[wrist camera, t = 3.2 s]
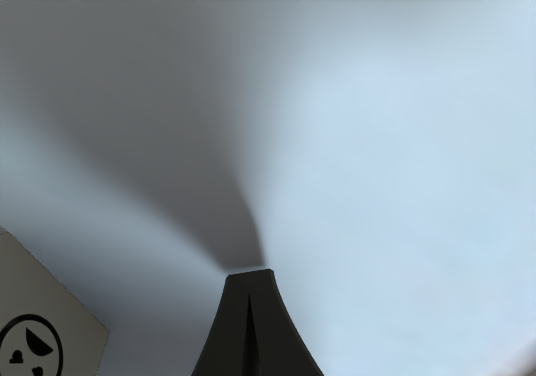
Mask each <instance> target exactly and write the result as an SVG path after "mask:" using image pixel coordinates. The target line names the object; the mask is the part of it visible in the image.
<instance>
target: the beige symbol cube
mask: <svg viewBox="0 0 536 376" xmlns="http://www.w3.org/2000/svg"><path fill="white" fill-rule="evenodd" d="M108 335H109V331H108V330H107V329H106V328H105V327H104V326H103V325H102V324H101V323H100V322H99V321H98V320H97V319H96V318H95V317H94V316H93V315H92V314H91V313H90V312H89V311H88V310H87V309H86V308H85V307H84V306H83V305H82V304H81V303H80V302H79V301H78V300H77V299H76V298H75V297H74V296H73V295H72V294H71V293H70V292H69V291H68V290H67V289H66V288H65V287H64V286H63V285H62V284H61V283H60V282H59V281H58V280H57V279H56V278H55V277H54V276H53V275H52V274H51V273H50V272H49V271H48V270H47V269H46V268H45V267H44V266H43V265H42V264H41V263H40V262H39V261H38V260H37V259H36V258H35V257H34V256H33V255H32V254H31V253H30V252H29V251H28V250H27V249H26V248H25V247H24V246H22V245H21V244H20V243H19V242H18V241H17V240H16V239H15V238H14V237H13V236H12V235H11V234H10V233H9V232H6V233H3V234H0V376H96V374H97V371H98V368H99V364H100V361H101V358H102V355H103V351H104V348H105V345H106V341H107V338H108Z"/></svg>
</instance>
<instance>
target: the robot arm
mask: <svg viewBox="0 0 536 376" xmlns="http://www.w3.org/2000/svg"><path fill="white" fill-rule="evenodd" d="M191 376H324V374H323V373H322V371H321V370H320V368H319V367H318V365H317V364H316V362H315V361H314V359H313V357H312V356H311V354H310V352H309V351H308V349H307V347H306V346H305V344H304V342H303V340H302V339H301V337H300V335H299V333H298V331H297V329H296V328H295V326H294V324H293V322H292V320H291V318H290V316H289V314H288V312H287V309H286V307H285V305H284V303H283V300H282V298H281V295H280V293H279V290H278V287H277V284H276V280H275V276H274V271H273V270H271V269H264V270H258V271H251V272H245V273H239V274H232V275H229V276H228V277H227V278H226V280H225V285H224V289H223V293H222V297H221V300H220V304H219V307H218V310H217V313H216V316H215V319H214V322H213V324H212V327H211V330H210V332H209V335H208V338H207V340H206V343H205V345H204V348H203V350H202V352H201V355H200V357H199V359H198V362H197V364H196V366H195V369H194V371H193V373H192V375H191Z"/></svg>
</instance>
